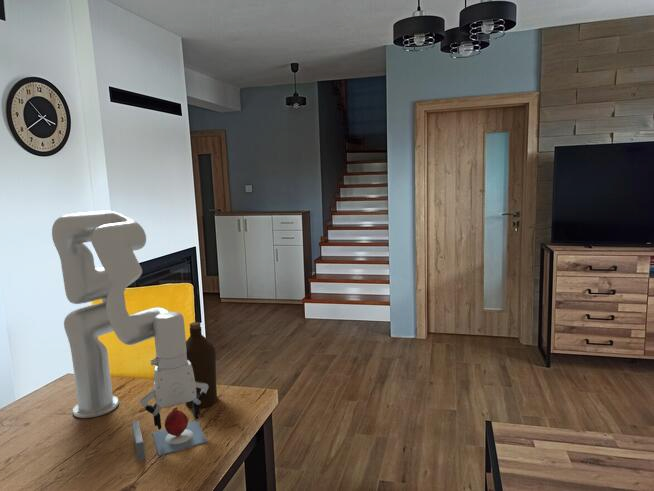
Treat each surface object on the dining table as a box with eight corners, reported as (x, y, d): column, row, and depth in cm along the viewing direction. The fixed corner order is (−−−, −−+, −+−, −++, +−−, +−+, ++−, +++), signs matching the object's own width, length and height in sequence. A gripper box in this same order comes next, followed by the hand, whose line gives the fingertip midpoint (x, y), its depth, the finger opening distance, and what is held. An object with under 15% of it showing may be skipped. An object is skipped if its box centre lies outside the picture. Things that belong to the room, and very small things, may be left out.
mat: (152, 434, 126) (152, 432, 126) (197, 421, 132) (197, 420, 132) (159, 456, 116) (158, 454, 116) (207, 442, 121) (207, 440, 121)
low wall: (133, 439, 124) (131, 421, 123) (139, 437, 125) (137, 420, 124) (138, 462, 114) (136, 443, 113) (145, 460, 114) (143, 441, 113)
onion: (182, 442, 120) (178, 413, 119) (162, 441, 121) (158, 412, 120) (193, 430, 126) (189, 402, 125) (173, 430, 127) (170, 402, 126)
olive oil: (216, 408, 139) (210, 327, 136) (180, 411, 138) (172, 330, 135) (221, 392, 150) (215, 317, 146) (187, 395, 149) (180, 319, 145)
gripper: (138, 372, 113) (144, 438, 116) (209, 357, 121) (214, 419, 124) (134, 362, 120) (141, 425, 122) (202, 349, 128) (207, 407, 130)
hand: (177, 422), depth 123 cm, fingers open, 9 cm apart
